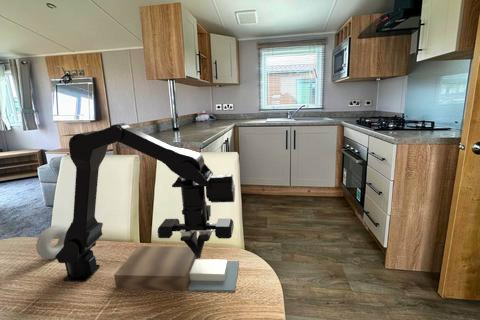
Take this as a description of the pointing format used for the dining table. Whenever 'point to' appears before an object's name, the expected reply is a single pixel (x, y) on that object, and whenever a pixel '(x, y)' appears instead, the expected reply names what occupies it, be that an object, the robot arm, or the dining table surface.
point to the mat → (218, 285)
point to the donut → (45, 240)
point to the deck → (156, 268)
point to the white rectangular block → (209, 270)
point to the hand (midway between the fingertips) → (199, 257)
